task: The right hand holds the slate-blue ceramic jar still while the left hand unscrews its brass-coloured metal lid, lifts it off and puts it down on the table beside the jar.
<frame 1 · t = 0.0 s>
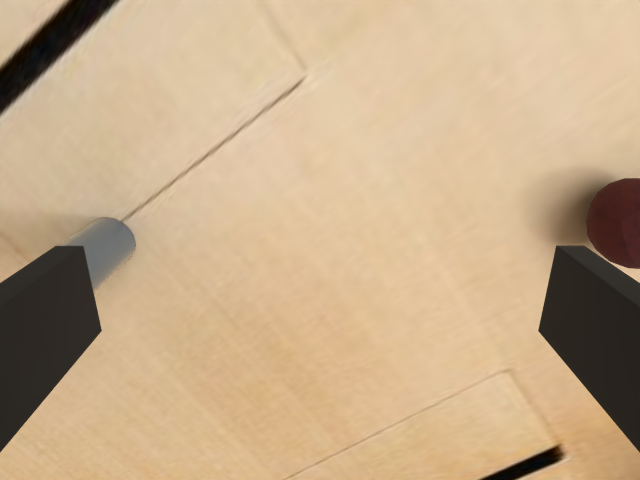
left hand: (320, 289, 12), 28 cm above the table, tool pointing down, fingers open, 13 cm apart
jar: (110, 240, 42), on the table
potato: (609, 209, 41), on the table
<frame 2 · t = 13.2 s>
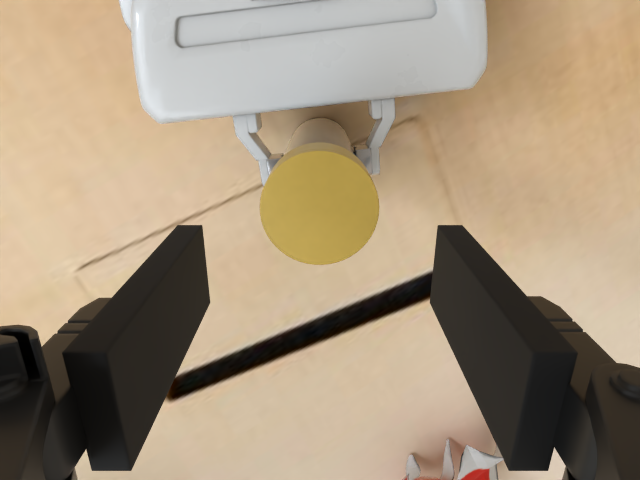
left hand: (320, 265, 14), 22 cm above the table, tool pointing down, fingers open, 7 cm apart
right hand: (321, 178, 29), fingers closed on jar, 5 cm apart
multicoloured piece: (448, 448, 46), on the table
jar: (319, 148, 34), on the table, touching right hand
lid: (319, 208, 20), point 16 cm above the table, screwed on, not yet turned
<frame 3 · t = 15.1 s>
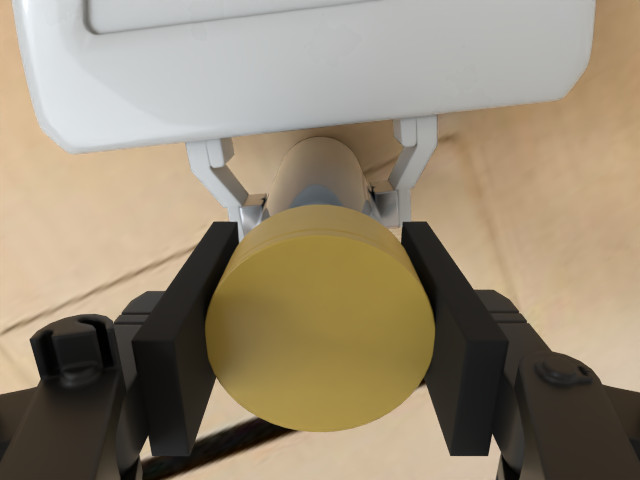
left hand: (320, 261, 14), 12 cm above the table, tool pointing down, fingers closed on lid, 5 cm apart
right hand: (323, 231, 19), fingers closed on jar, 5 cm apart
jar: (320, 178, 25), on the table, touching right hand
lid: (320, 334, 10), point 16 cm above the table, screwed on, not yet turned, touching left hand
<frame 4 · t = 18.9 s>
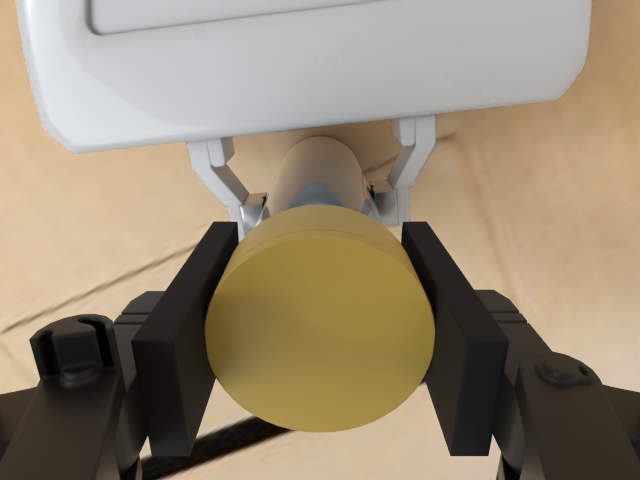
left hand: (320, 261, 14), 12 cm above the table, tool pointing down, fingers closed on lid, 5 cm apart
right hand: (323, 230, 20), fingers closed on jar, 5 cm apart
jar: (320, 177, 25), on the table, touching right hand
lid: (319, 335, 10), point 16 cm above the table, turned 124° so far, risen 0.2 cm, still on its thread, touching left hand
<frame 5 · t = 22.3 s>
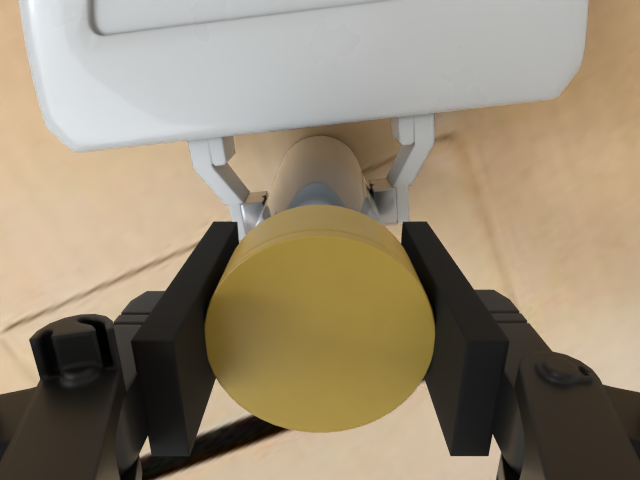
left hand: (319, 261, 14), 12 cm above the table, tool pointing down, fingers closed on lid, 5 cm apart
right hand: (323, 228, 20), fingers closed on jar, 5 cm apart
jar: (319, 176, 25), on the table, touching right hand
lid: (319, 335, 10), point 16 cm above the table, turned 249° so far, risen 0.4 cm, still on its thread, touching left hand
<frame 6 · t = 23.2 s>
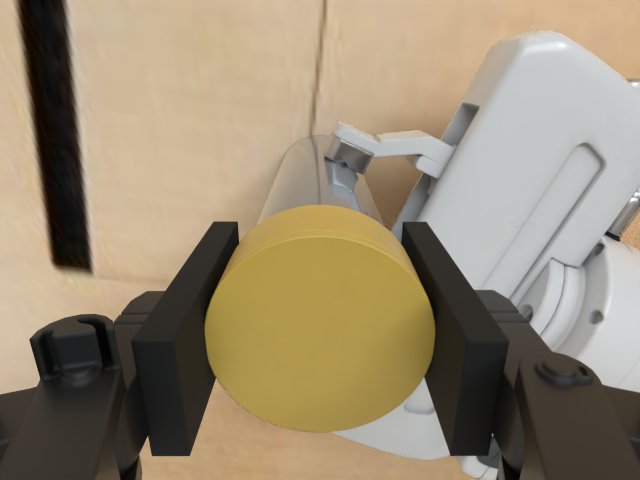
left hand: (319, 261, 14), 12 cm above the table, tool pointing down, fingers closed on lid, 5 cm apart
right hand: (301, 201, 20), fingers closed on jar, 5 cm apart
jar: (320, 176, 26), on the table, touching right hand
lid: (319, 335, 10), point 16 cm above the table, off its thread, touching left hand
when the left hand's fingers open (0 cm above the table, at t = 28.0 s): lid drops 2 cm, point 2 cm above the table.
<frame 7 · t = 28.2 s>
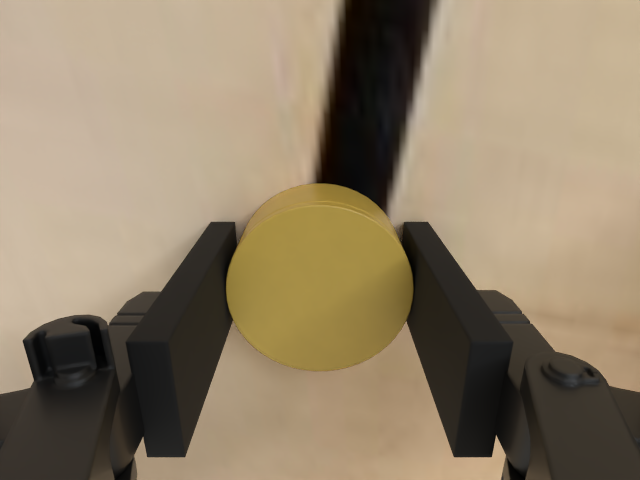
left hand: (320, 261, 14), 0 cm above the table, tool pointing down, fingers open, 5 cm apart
lid: (319, 289, 13), point 2 cm above the table, off its thread
when the right hand's fingers open (6 cm above the table, at t = 29.0 s): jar stays where it is, on the table.
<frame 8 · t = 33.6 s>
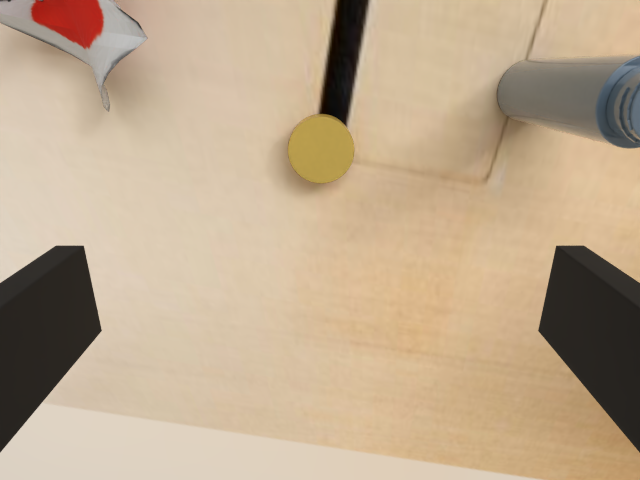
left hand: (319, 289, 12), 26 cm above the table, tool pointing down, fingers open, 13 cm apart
multicoloured piece: (101, 0, 33), on the table
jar: (526, 90, 35), on the table
lid: (321, 150, 35), point 2 cm above the table, off its thread
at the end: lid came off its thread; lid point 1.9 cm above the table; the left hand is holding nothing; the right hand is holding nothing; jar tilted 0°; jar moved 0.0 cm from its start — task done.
